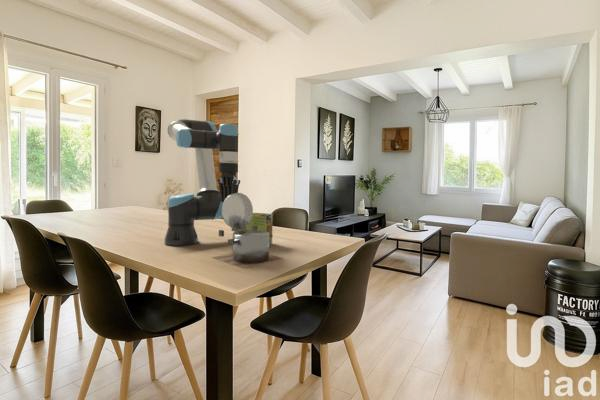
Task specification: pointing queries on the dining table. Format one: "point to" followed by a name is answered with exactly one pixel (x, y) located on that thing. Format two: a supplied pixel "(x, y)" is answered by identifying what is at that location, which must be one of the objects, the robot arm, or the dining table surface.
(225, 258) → the board
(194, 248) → the dining table surface
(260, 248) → the pot
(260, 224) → the protein box
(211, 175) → the robot arm
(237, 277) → the dining table surface
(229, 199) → the lid
